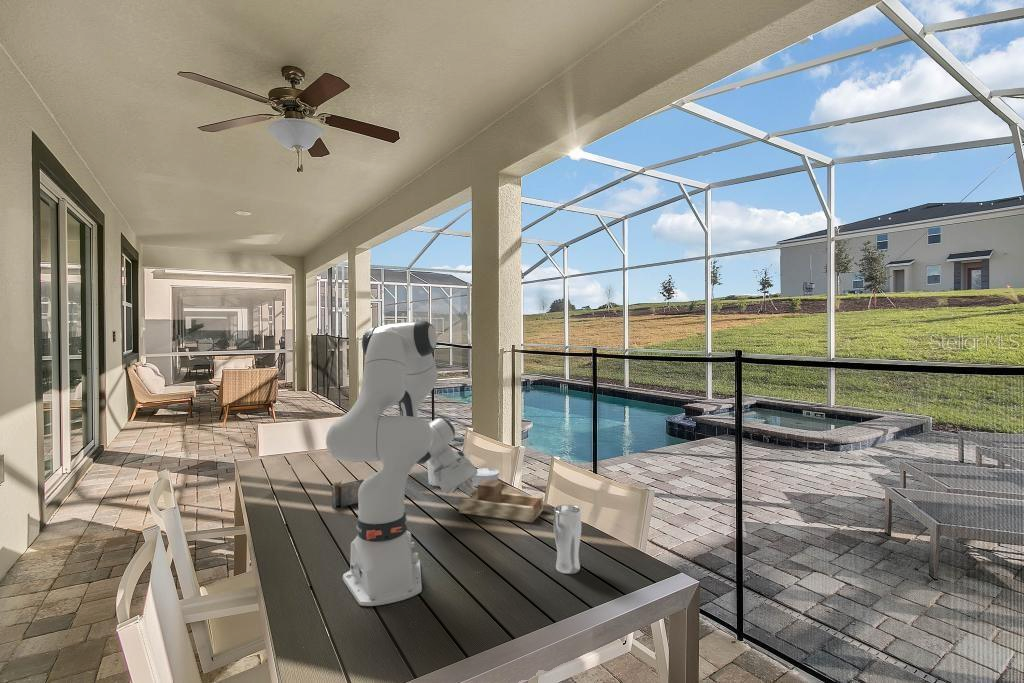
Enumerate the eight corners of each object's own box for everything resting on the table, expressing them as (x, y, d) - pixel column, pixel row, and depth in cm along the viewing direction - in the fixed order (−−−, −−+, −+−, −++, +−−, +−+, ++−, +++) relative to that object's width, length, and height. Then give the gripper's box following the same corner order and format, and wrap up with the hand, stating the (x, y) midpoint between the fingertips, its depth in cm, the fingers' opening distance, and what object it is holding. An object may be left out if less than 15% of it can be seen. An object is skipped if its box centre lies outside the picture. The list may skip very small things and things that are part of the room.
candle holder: (456, 481, 193) (456, 452, 193) (440, 488, 185) (440, 457, 185) (438, 478, 198) (437, 449, 198) (421, 484, 190) (421, 454, 190)
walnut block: (478, 508, 159) (477, 484, 159) (485, 502, 165) (485, 479, 165) (494, 510, 157) (494, 486, 157) (501, 504, 163) (501, 481, 163)
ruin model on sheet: (335, 510, 164) (335, 482, 164) (332, 507, 166) (331, 480, 166) (366, 502, 172) (366, 475, 172) (362, 500, 174) (362, 473, 174)
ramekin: (505, 484, 189) (505, 471, 189) (484, 491, 181) (484, 477, 181) (485, 479, 197) (485, 466, 197) (465, 485, 189) (465, 472, 189)
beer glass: (574, 577, 115) (574, 516, 115) (549, 570, 119) (548, 510, 119) (586, 565, 121) (585, 507, 121) (561, 559, 125) (560, 502, 125)
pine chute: (458, 512, 159) (458, 499, 159) (473, 501, 170) (473, 489, 169) (532, 522, 150) (532, 508, 150) (543, 510, 160) (542, 497, 160)
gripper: (436, 464, 156) (463, 497, 153) (465, 450, 175) (489, 479, 172) (425, 476, 158) (451, 509, 155) (454, 461, 177) (478, 490, 174)
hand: (472, 493), depth 163 cm, fingers closed
